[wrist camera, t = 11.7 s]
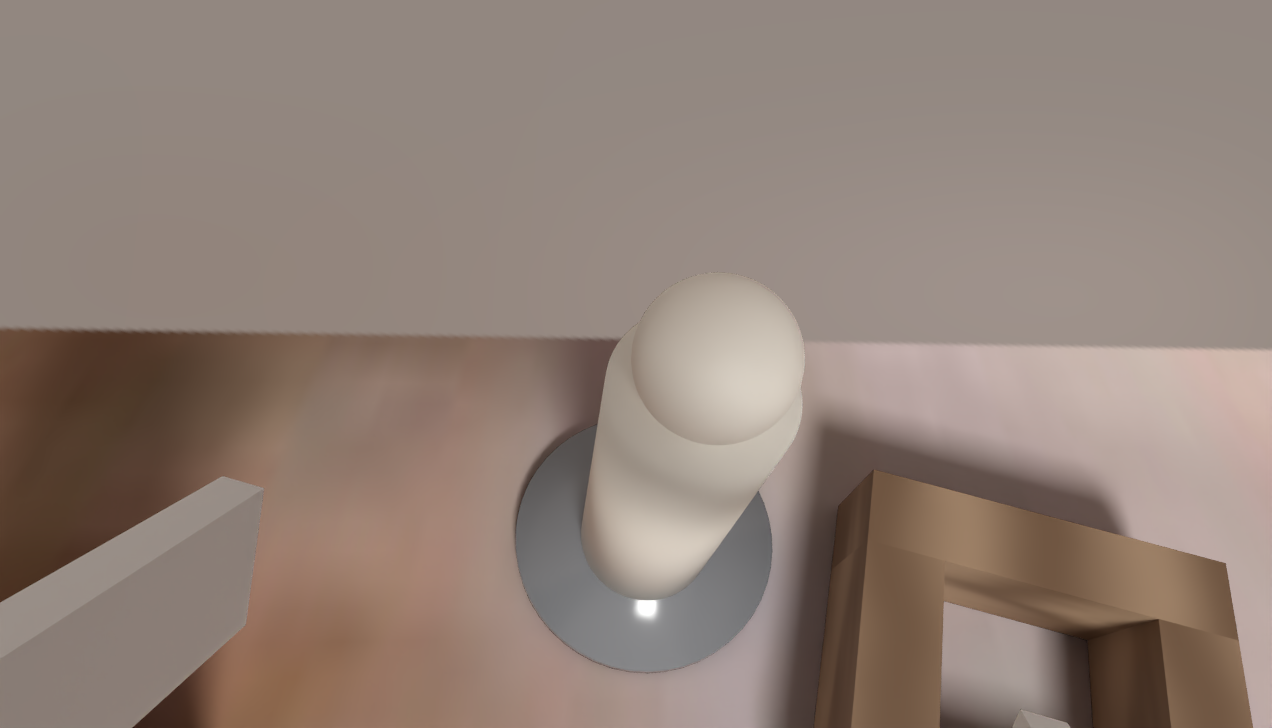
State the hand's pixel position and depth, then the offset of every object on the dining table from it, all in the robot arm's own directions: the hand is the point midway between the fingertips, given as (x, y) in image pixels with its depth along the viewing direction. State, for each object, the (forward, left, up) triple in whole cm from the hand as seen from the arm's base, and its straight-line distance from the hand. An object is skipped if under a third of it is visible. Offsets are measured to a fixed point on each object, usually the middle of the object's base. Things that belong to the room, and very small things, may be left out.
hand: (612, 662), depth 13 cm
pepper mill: (0, -7, -15) cm, 16 cm away
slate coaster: (0, -7, -15) cm, 17 cm away
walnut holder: (-14, -4, -15) cm, 22 cm away
